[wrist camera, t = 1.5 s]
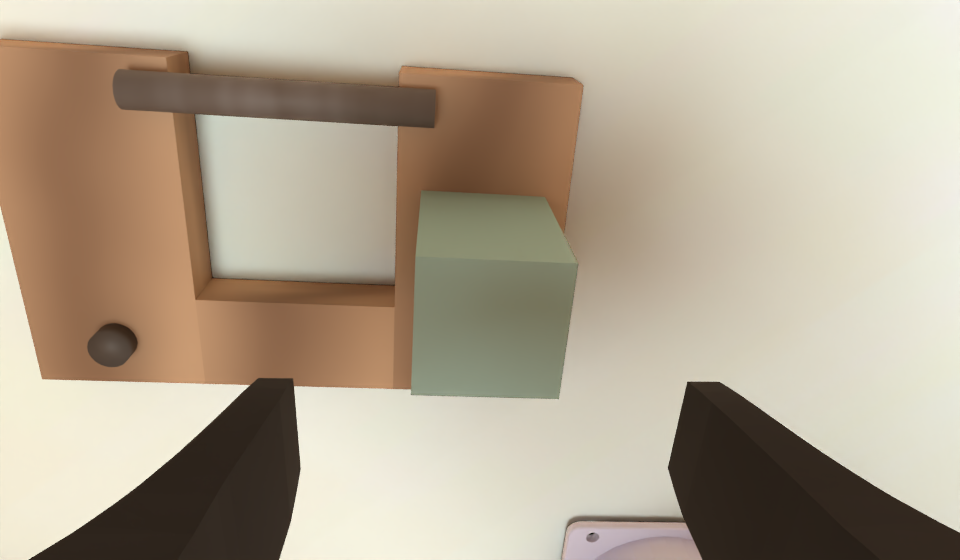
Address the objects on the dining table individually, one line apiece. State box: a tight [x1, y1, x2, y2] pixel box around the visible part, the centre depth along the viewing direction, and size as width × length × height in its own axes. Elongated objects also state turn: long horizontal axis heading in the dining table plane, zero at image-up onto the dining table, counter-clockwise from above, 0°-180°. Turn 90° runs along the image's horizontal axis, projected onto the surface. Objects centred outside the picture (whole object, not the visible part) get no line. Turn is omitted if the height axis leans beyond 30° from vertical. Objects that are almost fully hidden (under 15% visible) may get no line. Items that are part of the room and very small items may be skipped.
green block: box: [411, 190, 578, 399], centre depth 17 cm, size 4×4×5 cm
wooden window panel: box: [0, 39, 583, 389], centre depth 19 cm, size 16×10×3 cm, turn 86°
